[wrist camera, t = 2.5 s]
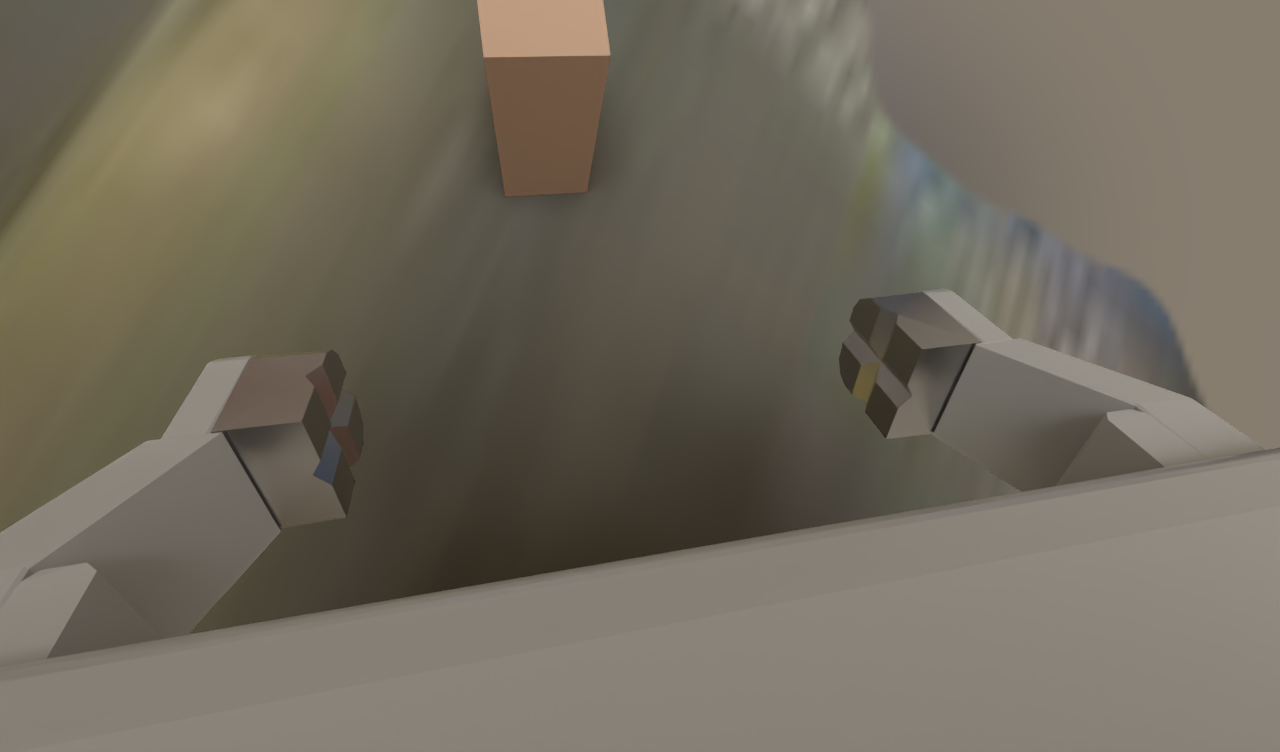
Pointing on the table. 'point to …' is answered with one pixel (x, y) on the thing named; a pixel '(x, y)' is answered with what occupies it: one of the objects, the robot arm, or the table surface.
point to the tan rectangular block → (545, 90)
